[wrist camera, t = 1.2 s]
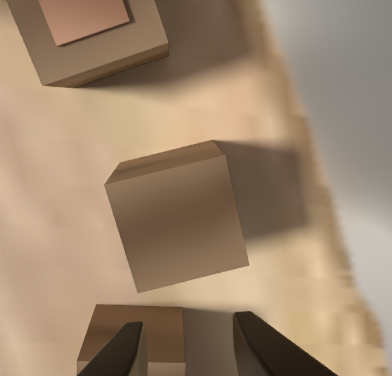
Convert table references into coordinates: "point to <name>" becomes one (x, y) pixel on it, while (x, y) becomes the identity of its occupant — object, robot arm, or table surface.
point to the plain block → (177, 215)
